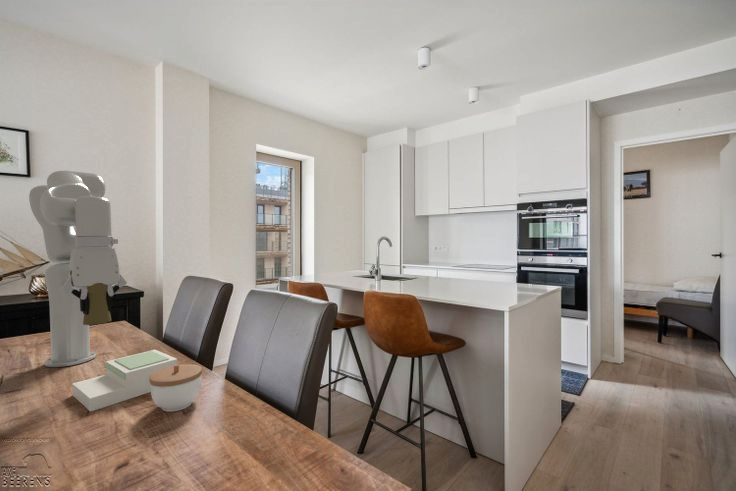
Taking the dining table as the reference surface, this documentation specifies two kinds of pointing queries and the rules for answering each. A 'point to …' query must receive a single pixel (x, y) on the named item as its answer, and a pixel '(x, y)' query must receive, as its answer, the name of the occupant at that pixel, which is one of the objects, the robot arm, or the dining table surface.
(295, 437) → the dining table surface
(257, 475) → the dining table surface
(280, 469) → the dining table surface
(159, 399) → the lidded jar
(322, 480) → the dining table surface
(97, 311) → the cork
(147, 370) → the platform
